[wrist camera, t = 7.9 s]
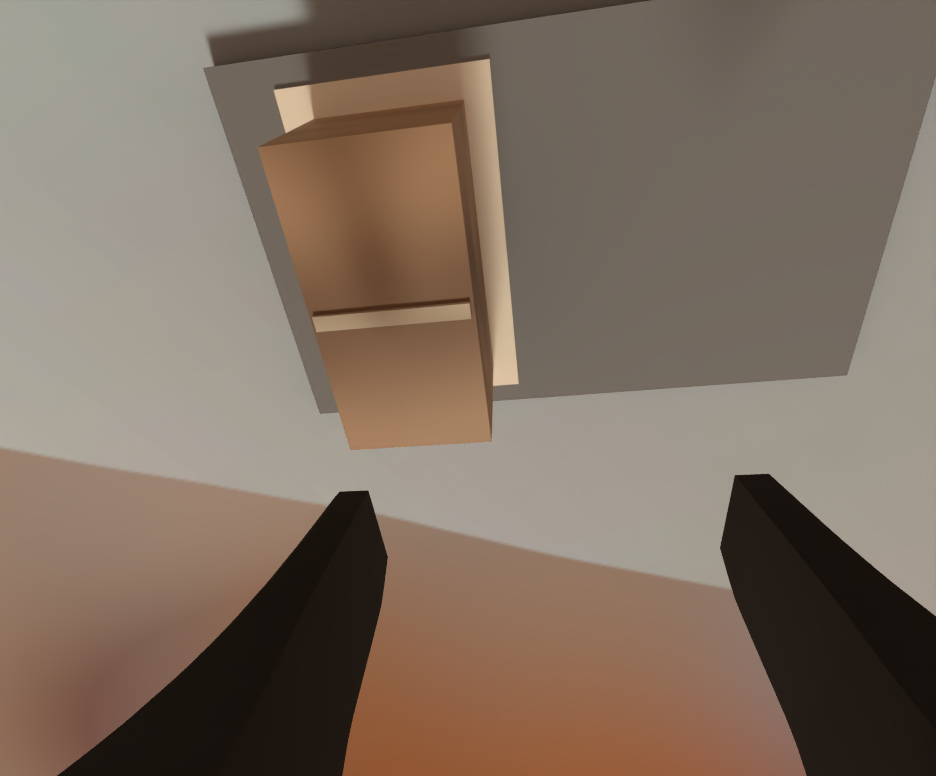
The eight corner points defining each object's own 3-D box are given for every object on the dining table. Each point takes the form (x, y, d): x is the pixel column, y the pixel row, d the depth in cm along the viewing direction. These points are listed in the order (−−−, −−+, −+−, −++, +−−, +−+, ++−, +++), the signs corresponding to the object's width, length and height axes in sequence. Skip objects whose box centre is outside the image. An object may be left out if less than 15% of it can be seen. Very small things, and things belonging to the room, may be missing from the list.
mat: (954, -46, 12) (975, -50, 12) (837, 365, 18) (848, 376, 18) (213, 66, 15) (201, 68, 14) (324, 404, 21) (319, 415, 20)
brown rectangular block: (493, 365, 18) (491, 444, 15) (377, 374, 19) (349, 452, 15) (463, 99, 14) (451, 123, 11) (313, 119, 14) (255, 148, 11)
